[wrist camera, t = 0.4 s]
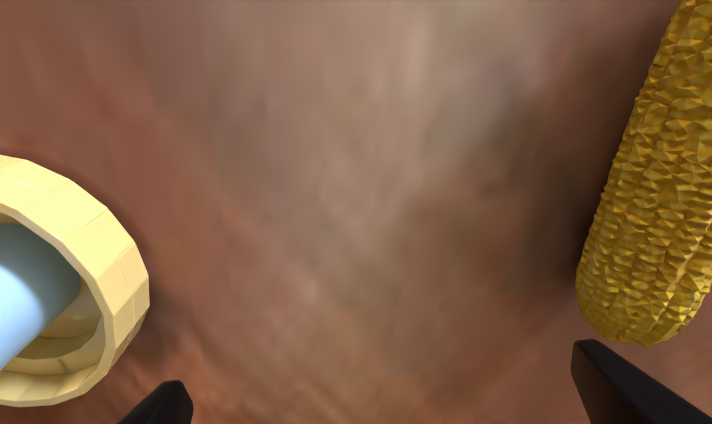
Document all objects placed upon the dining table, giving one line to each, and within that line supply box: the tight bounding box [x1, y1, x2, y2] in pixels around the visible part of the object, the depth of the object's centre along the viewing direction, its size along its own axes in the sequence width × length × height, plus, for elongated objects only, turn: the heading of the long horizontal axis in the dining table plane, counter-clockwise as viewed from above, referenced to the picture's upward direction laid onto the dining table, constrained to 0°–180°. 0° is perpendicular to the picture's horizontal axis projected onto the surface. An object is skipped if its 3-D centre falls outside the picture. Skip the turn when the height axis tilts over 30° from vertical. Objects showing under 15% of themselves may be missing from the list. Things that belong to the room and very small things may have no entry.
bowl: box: [0, 155, 150, 407], centre depth 23 cm, size 15×15×4 cm
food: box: [575, 0, 712, 348], centre depth 18 cm, size 21×6×6 cm, turn 177°
